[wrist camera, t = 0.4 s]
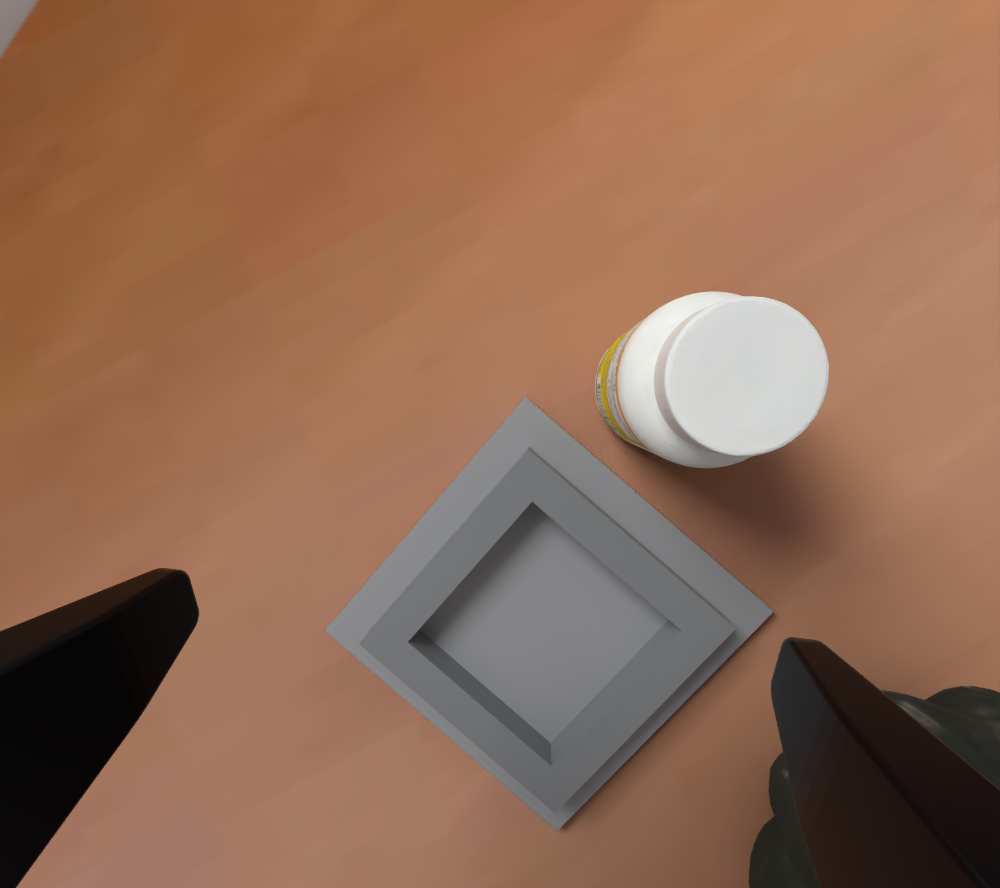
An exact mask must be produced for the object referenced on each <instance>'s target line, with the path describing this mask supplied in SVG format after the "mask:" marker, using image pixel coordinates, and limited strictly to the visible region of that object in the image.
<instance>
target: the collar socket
mask: <svg viewBox="0 0 1000 888" xmlns="http://www.w3.org/2000/svg"><path fill="white" fill-rule="evenodd" d="M773 612H774V611H773V610H772V609H771V608H770V607H768V606H767V605H766V604H765V603H764V602H763V601H761V600H760V599H759V598H758V597H757V596H756V595H754V594H753V593H752V592H751V591H750V590H749V589H748V588H746V587H745V586H744V585H743V584H742V583H741V582H739V581H738V580H737V579H736V578H735V577H734V576H732V575H731V574H730V573H729V572H728V571H727V570H726V569H724V568H723V567H722V566H721V565H720V564H719V563H717V562H716V561H715V560H714V559H713V558H712V557H710V556H709V555H708V554H707V553H706V552H705V551H703V550H702V549H701V548H700V547H699V546H698V545H697V544H695V543H694V542H693V541H692V540H691V539H690V538H688V537H687V536H686V535H685V534H684V533H683V532H681V531H680V530H679V529H678V528H677V527H676V526H675V525H673V524H672V523H671V522H670V521H669V520H668V519H666V518H665V517H664V516H663V515H662V514H661V513H659V512H658V511H657V510H656V509H655V508H654V507H652V506H651V505H650V504H649V503H648V502H647V501H646V500H644V499H643V498H642V497H641V496H640V495H639V494H637V493H636V492H635V491H634V490H633V489H632V488H630V487H629V486H628V485H627V484H626V483H625V482H624V481H622V480H621V479H620V478H619V477H618V476H617V475H615V474H614V473H613V472H612V471H611V470H610V469H608V468H607V467H606V466H605V465H604V464H603V463H601V462H600V461H599V460H598V459H597V458H596V457H595V456H593V455H592V454H591V453H590V452H589V451H588V450H586V449H585V448H584V447H583V446H582V445H581V444H579V443H578V442H577V441H576V440H575V439H574V438H573V437H571V436H570V435H569V434H568V433H567V432H566V431H564V430H563V429H562V428H561V427H560V426H559V425H557V424H556V423H555V422H554V421H553V420H552V419H550V418H549V417H548V416H547V415H546V414H545V413H544V412H542V411H541V410H540V409H539V408H538V407H537V406H535V405H534V404H533V403H532V402H531V401H530V400H528V399H527V398H526V397H525V398H524V400H523V401H522V402H521V403H520V404H519V405H518V407H517V408H516V409H515V410H514V411H513V412H512V414H511V415H510V416H509V417H508V418H507V419H506V421H505V422H504V423H503V424H502V425H501V426H500V428H499V429H498V430H497V431H496V432H495V433H494V434H493V436H492V437H491V438H490V439H489V440H488V441H487V443H486V444H485V445H484V446H483V447H482V448H481V450H480V451H479V452H478V453H477V454H476V455H475V457H474V458H473V459H472V460H471V461H470V462H469V464H468V465H467V466H466V467H465V468H464V469H463V471H462V472H461V473H460V474H459V475H458V476H457V478H456V479H455V480H454V481H453V482H452V483H451V485H450V486H449V487H448V488H447V489H446V490H445V492H444V493H443V494H442V495H441V496H440V497H439V499H438V500H437V501H436V502H435V503H434V504H433V506H432V507H431V508H430V509H429V510H428V511H427V513H426V514H425V515H424V516H423V517H422V518H421V520H420V521H419V522H418V523H417V524H416V525H415V527H414V528H413V529H412V530H411V531H410V532H409V534H408V535H407V536H406V537H405V538H404V539H403V540H402V542H401V543H400V544H399V545H398V546H397V547H396V549H395V550H394V551H393V552H392V553H391V554H390V556H389V557H388V558H387V559H386V560H385V561H384V563H383V564H382V565H381V566H380V567H379V568H378V570H377V571H376V572H375V573H374V574H373V575H372V577H371V578H370V579H369V580H368V581H367V582H366V584H365V585H364V586H363V587H362V588H361V589H360V591H359V592H358V593H357V594H356V595H355V596H354V598H353V599H352V600H351V601H350V602H349V603H348V605H347V606H346V607H345V608H344V609H343V610H342V612H341V613H340V614H339V615H338V616H337V617H336V619H335V620H334V621H333V622H332V623H331V624H330V626H329V627H328V628H327V629H326V630H325V631H326V632H327V633H329V634H330V635H331V636H332V637H333V638H334V639H336V640H337V641H338V642H339V643H340V644H341V645H342V646H344V647H345V648H346V649H347V650H348V651H349V652H351V653H352V654H353V655H354V656H355V657H356V658H357V659H359V660H360V661H361V662H362V663H363V664H364V665H366V666H367V667H368V668H369V669H370V670H371V671H372V672H374V673H375V674H376V675H377V676H378V677H379V678H381V679H382V680H383V681H384V682H385V683H386V684H387V685H389V686H390V687H391V688H392V689H393V690H394V691H396V692H397V693H398V694H399V695H400V696H401V697H402V698H404V699H405V700H406V701H407V702H408V703H409V704H411V705H412V706H413V707H414V708H415V709H416V710H417V711H419V712H420V713H421V714H422V715H423V716H424V717H426V718H427V719H428V720H429V721H430V722H431V723H432V724H434V725H435V726H436V727H437V728H438V729H439V730H441V731H442V732H443V733H444V734H445V735H446V736H448V737H449V738H450V739H451V740H452V741H453V742H454V743H456V744H457V745H458V746H459V747H460V748H461V749H463V750H464V751H465V752H466V753H467V754H468V755H469V756H471V757H472V758H473V759H474V760H475V761H476V762H478V763H479V764H480V765H481V766H482V767H483V768H484V769H486V770H487V771H488V772H489V773H490V774H491V775H493V776H494V777H495V778H496V779H497V780H498V781H499V782H501V783H502V784H503V785H504V786H505V787H506V788H508V789H509V790H510V791H511V792H512V793H513V794H514V795H516V796H517V797H518V798H519V799H520V800H521V801H523V802H524V803H525V804H526V805H527V806H528V807H529V808H531V809H532V810H533V811H534V812H535V813H536V814H538V815H539V816H540V817H541V818H542V819H543V820H544V821H546V822H547V823H548V824H549V825H550V826H551V827H553V828H554V829H555V830H556V831H558V830H559V829H560V828H561V827H562V826H563V825H564V824H565V823H566V822H567V821H568V820H569V819H570V818H571V817H572V816H573V815H574V814H575V813H576V812H577V811H578V809H579V808H580V807H581V806H582V805H583V804H584V803H585V802H586V801H587V800H588V799H589V798H590V797H591V796H592V795H593V794H594V793H595V792H596V791H597V790H598V789H599V788H600V787H601V786H602V785H603V784H604V783H605V782H606V781H607V780H608V779H609V778H610V777H611V776H612V775H613V774H614V773H615V772H616V771H617V770H618V769H619V768H620V767H621V766H622V765H623V764H624V763H625V762H626V761H627V760H628V759H629V758H630V757H631V756H632V755H633V754H634V753H635V752H636V751H637V750H638V749H639V748H640V747H641V746H642V745H643V744H644V743H645V742H646V741H647V740H648V739H649V738H650V737H651V736H652V735H653V733H654V732H655V731H656V730H657V729H658V728H659V727H660V726H661V725H662V724H663V723H664V722H665V721H666V720H667V719H668V718H669V717H670V716H671V715H672V714H673V713H674V712H675V711H676V710H677V709H678V708H679V707H680V706H681V705H682V704H683V703H684V702H685V701H686V700H687V699H688V698H689V697H690V696H691V695H692V694H693V693H694V692H695V691H696V690H697V689H698V688H699V687H700V686H701V685H702V684H703V683H704V682H705V681H706V680H707V679H708V678H709V677H710V676H711V675H712V674H713V673H714V672H715V671H716V670H717V669H718V668H719V667H720V666H721V665H722V664H723V663H724V662H725V661H726V660H727V658H728V657H729V656H730V655H731V654H732V653H733V652H734V651H735V650H736V649H737V648H738V647H739V646H740V645H741V644H742V643H743V642H744V641H745V640H746V639H747V638H748V637H749V636H750V635H751V634H752V633H753V632H754V631H755V630H756V629H757V628H758V627H759V626H760V625H761V624H762V623H763V622H764V621H765V620H766V619H767V618H768V617H769V616H770V615H771V614H772V613H773Z"/></svg>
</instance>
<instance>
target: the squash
mask: <svg viewBox="0 0 1000 888" xmlns="http://www.w3.org/2000/svg"><path fill="white" fill-rule="evenodd" d="M881 691H882V692H883V693H884V694H885V695H887V696H888V697H889V698H890V699H891V700H893V701H894V702H895V703H896V704H897V705H899V706H900V707H901V708H902V709H904V710H905V711H906V712H907V713H908V714H910V715H911V716H912V717H913V718H914V719H916V720H917V721H918V722H919V723H921V724H922V725H923V726H924V727H925V728H927V729H928V730H929V731H930V732H931V733H933V734H934V735H935V736H936V737H937V738H939V739H940V740H941V741H942V742H944V743H945V744H946V745H947V746H948V747H950V748H951V749H952V750H953V751H954V752H956V753H957V754H958V755H959V756H961V757H962V758H963V759H964V760H965V761H967V762H968V763H969V764H970V765H971V766H973V767H974V768H975V769H976V770H977V771H979V772H980V773H981V774H982V775H984V776H985V777H986V778H987V779H988V780H990V781H991V782H992V783H993V784H994V785H996V786H997V787H998V788H999V789H1000V693H999V692H997V691H994V690H990V689H985V688H980V687H974V686H961V687H955V688H949V689H945V690H942V691H940V692H938V693H936V694H935V695H933V696H931V697H929V698H928V699H926V700H922V699H919V698H916V697H912V696H909V695H906V694H901V693H896V692H890V691H885V690H881ZM769 795H770V802H771V807H772V810H773V813H774V817H773V818H772V819H771V820H770V821H768V822H767V823H766V824H765V825H764V826H763V828H762V829H761V831H760V832H759V834H758V836H757V839H756V841H755V843H754V847H753V850H752V853H751V859H750V872H749V887H750V888H820V885H819V882H818V879H817V876H816V873H815V870H814V867H813V864H812V861H811V858H810V855H809V852H808V849H807V846H806V842H805V839H804V836H803V832H802V829H801V826H800V823H799V819H798V815H797V811H796V807H795V802H794V798H793V794H792V789H791V785H790V780H789V775H788V771H787V766H786V762H785V757H784V753H781V754H780V755H779V756H778V757H777V759H776V760H775V762H774V763H773V765H772V766H771V769H770V780H769Z"/></svg>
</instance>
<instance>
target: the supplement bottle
mask: <svg viewBox="0 0 1000 888" xmlns="http://www.w3.org/2000/svg"><path fill="white" fill-rule="evenodd" d="M828 379H829V364H828V358H827V353H826V350H825V347H824V344H823V342H822V340H821V338H820V336H819V334H818V332H817V331H816V329H815V328H814V327H813V326H812V324H811V323H810V322H809V321H808V320H807V319H806V318H805V317H804V316H803V315H802V314H801V313H799V312H798V311H796V310H795V309H793V308H792V307H790V306H788V305H786V304H784V303H782V302H779V301H776V300H773V299H769V298H765V297H753V296H745V297H743V296H741V295H737V294H732V293H727V292H701V293H695V294H690V295H687V296H683V297H680V298H678V299H675V300H673V301H671V302H669V303H667V304H665V305H663V306H662V307H660V308H658V309H657V310H655V311H654V312H653V313H651V314H650V315H648V316H647V317H646V318H644V319H643V320H642V321H640V322H639V323H638V324H637V325H635V326H634V327H633V328H631V329H630V330H628V331H627V332H626V333H624V334H623V335H622V336H620V337H619V338H618V339H617V340H616V341H615V342H614V343H613V344H612V345H611V346H610V347H609V348H608V350H607V351H606V353H605V354H604V356H603V358H602V360H601V362H600V364H599V367H598V370H597V374H596V380H595V396H596V402H597V405H598V408H599V411H600V413H601V415H602V417H603V419H604V421H605V422H606V424H607V425H608V426H609V427H610V429H611V430H612V431H613V432H614V433H615V434H617V435H618V436H619V437H620V438H622V439H624V440H625V441H627V442H629V443H631V444H633V445H635V446H638V447H640V448H642V449H644V450H647V451H649V452H651V453H653V454H655V455H658V456H660V457H662V458H664V459H666V460H668V461H671V462H673V463H676V464H680V465H683V466H688V467H695V468H718V467H724V466H729V465H733V464H736V463H739V462H741V461H744V460H746V459H748V458H750V457H752V456H756V455H761V454H765V453H769V452H771V451H774V450H777V449H779V448H781V447H783V446H785V445H787V444H788V443H790V442H791V441H793V440H794V439H795V438H796V437H798V436H799V435H800V434H801V433H802V432H803V431H804V430H805V429H806V428H808V426H809V425H810V424H811V422H812V421H813V420H814V418H815V417H816V415H817V414H818V412H819V410H820V408H821V406H822V403H823V401H824V398H825V396H826V391H827V386H828Z"/></svg>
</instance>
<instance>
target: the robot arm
mask: <svg viewBox="0 0 1000 888" xmlns="http://www.w3.org/2000/svg"><path fill="white" fill-rule="evenodd" d="M198 618H199V608H198V605H197V601H196V598H195V595H194V591H193V588H192V584H191V581H190V578H189V576H188V574H187V573H186V572H184V571H182V570H177V569H168V568H158V569H155V570H152V571H149V572H147V573H144V574H142V575H139V576H137V577H135V578H132V579H130V580H127V581H125V582H122V583H120V584H117V585H115V586H112V587H110V588H107V589H105V590H102V591H100V592H97V593H95V594H92V595H90V596H87V597H85V598H82V599H80V600H77V601H75V602H72V603H70V604H67V605H65V606H62V607H60V608H57V609H55V610H52V611H50V612H47V613H45V614H42V615H40V616H37V617H35V618H32V619H30V620H28V621H25V622H23V623H20V624H18V625H15V626H13V627H10V628H8V629H5V630H3V631H0V888H16V887H17V886H18V884H19V883H20V882H21V880H22V879H23V877H24V876H25V875H26V873H27V872H28V871H29V869H30V868H31V866H32V865H33V864H34V862H35V861H36V860H37V858H38V857H39V856H40V854H41V853H42V851H43V850H44V849H45V847H46V846H47V845H48V843H49V842H50V840H51V839H52V838H53V836H54V835H55V834H56V832H57V831H58V829H59V828H60V827H61V825H62V824H63V823H64V821H65V820H66V818H67V817H68V816H69V814H70V813H71V812H72V810H73V809H74V807H75V806H76V805H77V803H78V802H79V801H80V799H81V798H82V797H83V795H84V794H85V792H86V791H87V790H88V788H89V787H90V786H91V784H92V783H93V781H94V780H95V779H96V777H97V776H98V775H99V773H100V772H101V770H102V769H103V768H104V766H105V765H106V764H107V762H108V761H109V759H110V758H111V757H112V755H113V754H114V753H115V751H116V750H117V748H118V747H119V746H120V744H121V743H122V742H123V740H124V739H125V737H126V736H127V735H128V733H129V732H130V731H131V729H132V728H133V726H134V725H135V723H136V722H137V721H138V719H139V718H140V716H141V715H142V713H143V712H144V710H145V708H146V707H147V705H148V704H149V702H150V701H151V699H152V697H153V696H154V694H155V692H156V691H157V689H158V687H159V686H160V684H161V682H162V681H163V679H164V678H165V676H166V674H167V673H168V671H169V669H170V668H171V666H172V664H173V663H174V661H175V659H176V658H177V656H178V654H179V653H180V651H181V650H182V648H183V646H184V645H185V643H186V641H187V640H188V638H189V636H190V635H191V633H192V631H193V630H194V628H195V626H196V624H197V621H198ZM771 696H772V702H773V707H774V711H775V716H776V721H777V725H778V730H779V734H780V739H781V743H782V748H783V753H784V757H785V762H786V766H787V771H788V775H789V780H790V785H791V789H792V794H793V798H794V802H795V807H796V811H797V815H798V819H799V823H800V826H801V829H802V832H803V836H804V839H805V842H806V846H807V849H808V852H809V855H810V858H811V861H812V864H813V867H814V870H815V873H816V876H817V879H818V882H819V885H820V888H1000V789H999V788H998V787H997V786H996V785H994V784H993V783H992V782H991V781H990V780H988V779H987V778H986V777H985V776H984V775H982V774H981V773H980V772H979V771H977V770H976V769H975V768H974V767H973V766H971V765H970V764H969V763H968V762H967V761H965V760H964V759H963V758H962V757H961V756H959V755H958V754H957V753H956V752H954V751H953V750H952V749H951V748H950V747H948V746H947V745H946V744H945V743H944V742H942V741H941V740H940V739H939V738H937V737H936V736H935V735H934V734H933V733H931V732H930V731H929V730H928V729H927V728H925V727H924V726H923V725H922V724H921V723H919V722H918V721H917V720H916V719H914V718H913V717H912V716H911V715H910V714H908V713H907V712H906V711H905V710H904V709H902V708H901V707H900V706H899V705H897V704H896V703H895V702H894V701H893V700H891V699H890V698H889V697H888V696H887V695H885V694H884V693H883V692H882V691H881V690H879V689H878V688H877V687H876V686H874V685H873V684H872V683H871V682H870V681H868V680H867V679H866V678H865V677H864V676H862V675H861V674H860V673H859V672H857V671H856V670H855V669H854V668H853V667H851V666H850V665H849V664H848V663H847V662H845V661H844V660H843V659H842V658H841V657H839V656H838V655H837V654H836V653H834V652H833V651H832V650H831V649H830V648H828V647H827V646H826V645H825V644H823V643H822V642H820V641H817V640H812V639H803V638H794V637H790V638H787V639H785V641H784V642H783V644H782V646H781V650H780V653H779V657H778V660H777V664H776V667H775V671H774V674H773V678H772V682H771Z"/></svg>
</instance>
